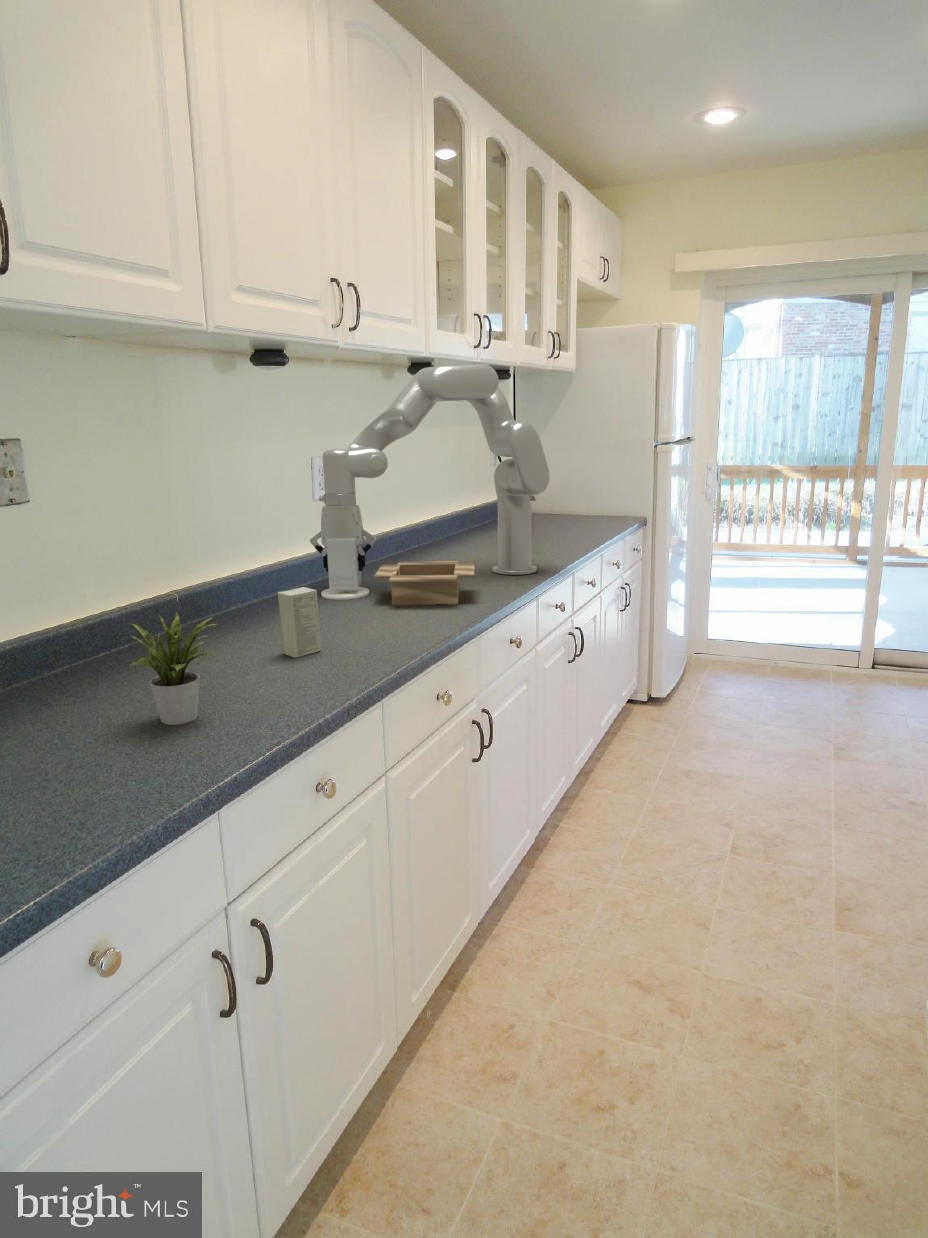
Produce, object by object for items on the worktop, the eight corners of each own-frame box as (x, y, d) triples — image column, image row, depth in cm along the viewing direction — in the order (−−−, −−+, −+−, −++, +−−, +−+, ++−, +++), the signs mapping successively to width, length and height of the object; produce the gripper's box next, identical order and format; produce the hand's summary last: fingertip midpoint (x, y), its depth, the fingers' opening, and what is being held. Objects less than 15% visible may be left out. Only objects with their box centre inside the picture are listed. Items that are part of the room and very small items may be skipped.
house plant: (246, 724, 119) (236, 616, 115) (147, 746, 112) (133, 631, 108) (217, 697, 131) (207, 599, 127) (126, 715, 123) (113, 611, 119)
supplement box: (358, 589, 201) (355, 539, 198) (328, 590, 201) (325, 539, 198) (362, 583, 208) (360, 534, 205) (333, 583, 209) (330, 535, 205)
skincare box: (308, 647, 159) (304, 586, 156) (322, 651, 155) (318, 589, 152) (281, 654, 154) (276, 591, 151) (294, 658, 151) (289, 594, 148)
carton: (384, 588, 212) (383, 561, 210) (475, 587, 211) (474, 560, 209) (373, 609, 189) (371, 579, 187) (474, 608, 188) (474, 578, 187)
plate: (326, 589, 211) (326, 586, 211) (372, 589, 211) (371, 586, 211) (317, 599, 200) (317, 596, 199) (365, 599, 199) (365, 596, 199)
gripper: (302, 502, 196) (307, 574, 200) (373, 501, 196) (377, 572, 200) (308, 499, 203) (313, 568, 208) (377, 498, 203) (381, 567, 207)
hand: (344, 570), depth 204 cm, fingers open, 7 cm apart
